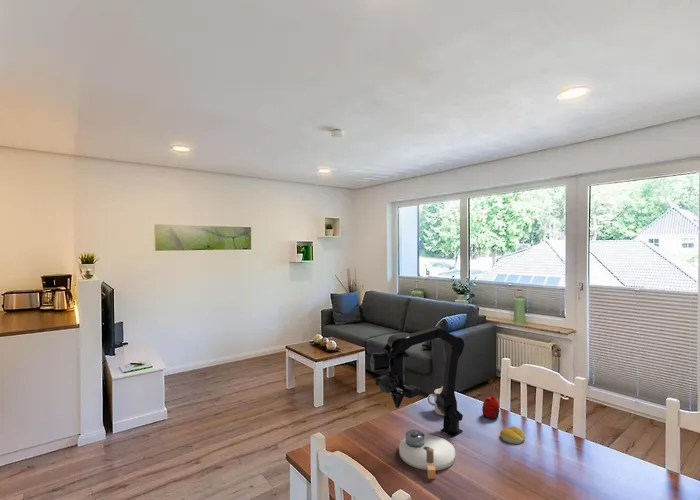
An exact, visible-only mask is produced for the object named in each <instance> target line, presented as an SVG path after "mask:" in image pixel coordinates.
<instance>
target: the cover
mask: <svg viewBox="0 0 700 500" xmlns="http://www.w3.org/2000/svg"><path fill="white" fill-rule="evenodd" d="M404 435H405V438H406V444H407V445H408V446H410V447H414V448H419V447H422V446H423V445H424V432H422V431H420V430H417V429H411V430H407V431H405V434H404Z"/></svg>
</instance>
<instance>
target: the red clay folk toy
mask: <svg viewBox="0 0 700 500" xmlns="http://www.w3.org/2000/svg"><path fill="white" fill-rule="evenodd" d="M495 390H499V386H498V384H495V386H493V391H492V396H488V397H485V398H484V401H483V403H482V409H481V411H482V417H483V418H486V419H489V420H497V419H499V415H500V405H499V401H498V400H497V397H496V396H495Z"/></svg>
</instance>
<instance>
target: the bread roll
mask: <svg viewBox="0 0 700 500" xmlns="http://www.w3.org/2000/svg"><path fill="white" fill-rule="evenodd" d="M499 435H500V438H502V440H503V441H504V442H506V443H509V444H515V445H516V444H517V445H519V444H521V443H523V442H525V440H526V435H525V433H524V432H523V430H522V429H520V428H518V427H516V426H508V427H506V428H504V429H502V430H501V431H500V434H499Z"/></svg>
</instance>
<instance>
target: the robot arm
mask: <svg viewBox="0 0 700 500" xmlns="http://www.w3.org/2000/svg"><path fill="white" fill-rule="evenodd" d="M436 339H439V340H441V341H442V342H443V347H444V352H445V355H446V356H445V357H446V358H445V365H444V374H443V383H442V386H443V390H442V392H441V393H440V394H438V393H437V399H436V402H435V403H436V404H437V407H438V409H439V410H440V411H441V413H443V414H444V416H443V422H442V423H443V424H442V425H443V426H442V427H443V428H441V429H440V432H442V433H444V434H446V435H449V436H450V437H453V438H454V437H456V436H458V435H460V434H461V433H463V430H462V429H460V421H461V422H462V421H463V419H464V418H463V416H464V414H462V413H461V412H460V411H459V410H458V402H457V398H456V394H455V391H456V382H457V374H458V365H459V359H460V357H461V356H462V354H463V352H464V349H465V344H466V343H465V340H463V338H462V337H460V336H457V335H456V334H453V333H449V332H448V331H446V330H445V329H444V328H442V327H440V326H438V325H436V326H432V327H430V328H427V329H423V330H420V331H416V332H413V333H412V332H411V333H409V334H399V333H398V334H392V335H390V336H389V337H388V339H387V342H386V345H384V347H383V348H382V352H371V356H370V359H369V367H370V369H371V371H372V372H377V371H378V372H379V371H387V372H386V375H381V376H378V377H377V378H376V380H375V386H378V387H379V391H380V392H384V393H386V394H390V395H391V398H392V400H393V401H392V402H393V403H394V406H395V408H396V409H398V408H400V406H401V404H402V402H403V400H404V398H407V399H412V398H416V397H417V396H419V395H421V389H420V388H419V386H417V385H413V384H409V385H406V384H407V380H405V374H407V370H405V358H409V357H410V355H409V354H408V353H407V352H406V351H408V350H409V349H410V348H411V347H413V346H415V345H419V344H422V343H426V342H429V341H434V340H436ZM435 403H434V404H435Z"/></svg>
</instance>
